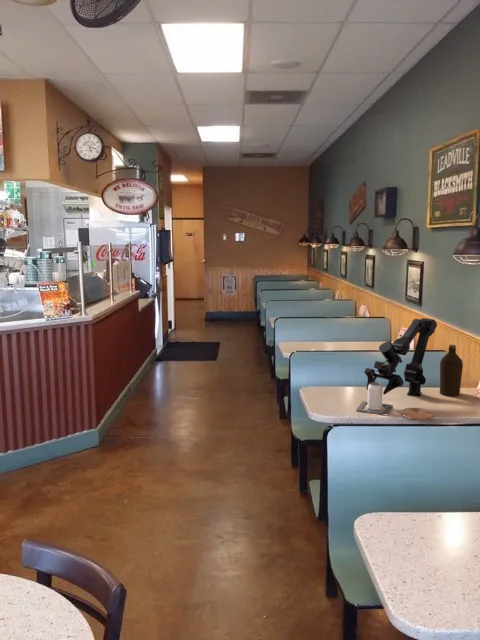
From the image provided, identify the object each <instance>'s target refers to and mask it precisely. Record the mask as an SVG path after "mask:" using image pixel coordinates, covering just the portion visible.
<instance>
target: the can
mask: <svg viewBox="0 0 480 640" xmlns="http://www.w3.org/2000/svg"><path fill="white" fill-rule="evenodd" d="M367 402H368V404H366V406H367V410H369V409H370V410H371V411H373V410H379V411H381V410H382V408H383V406H382V404H383V385H382V383H381V382H379V381H378V382H377V381H375V382H370V383H369V386H368V390H367Z"/></svg>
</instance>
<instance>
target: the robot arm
mask: <svg viewBox="0 0 480 640" xmlns="http://www.w3.org/2000/svg"><path fill="white" fill-rule="evenodd" d="M437 326H438V323H437V321H436V319H433V318H426V317H422V318H420V319H419V318H414V319H413V320H412V321H411V324H410V325H409V326H408V328H407V329H406V330H405V332H404V333H403V335H402V336H400V337H399V338H396V339H395V340H394V341H393V342H392V341H391V340H386V342H383V343H381V344H380V345H379V347H378V350H379V351H380V353H381V354H382V355H381V356H383V358H384V359H386V360H385V361H382V362H381V361H378V360H375V362H374V365H373V368H371V367H366V368H365V369H364V374H365V375H366V377H367V384H366V390H367V391H368V386H369V383H370V382H376V379H377V378H380V379H383V380H388V383H387V385H386V387H385V388H384V391H382V395H386V394H388V393H389V392H391V391H393V390H394V389H397V388H399V387H403V385H404V383H406V382H408V392H407V393H406V395H407V396H412V397H421V396H422V394H423V392H422V391H421V390H422V385H423V386H424V385H425V384H426V381H427V378H426V377H425V375H424V368H423V366H422V364H423V360H424V357H425V353H426V351H427V347H428V344H429V339H430V337H431V336H433V334H434V333H435V331H436V328H437ZM417 335H418V338H417V341H416V345H415V348H414V352H413V355H412V359H411V361H410V362H409V363H407V364H406V365H405V369H404V371H403V377H404V379H403V378H402V376H401V375H399V374H396V373H397V370H396V369H397V367H398V365H399V363H400V364H402V363H403V359H402V356H406V355H407V354H408V352H409V351H410V348H411V346H410V344H411V343H412V341H413V340H414V339H415V337H416V336H417ZM401 355H402V356H401ZM375 369H376V371H377V372H376V371H375ZM404 381H405V382H404Z"/></svg>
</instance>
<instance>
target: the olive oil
mask: <svg viewBox="0 0 480 640" xmlns="http://www.w3.org/2000/svg"><path fill="white" fill-rule="evenodd" d="M463 366H464V363H463V360H462V358H461V357H460V356H459V355H458V354H457V345H456V344H449V345H448V351H447V353H446V354H445V355H444V356H443V357H442V358H441V360H440V361H439V394H440V395H442V396H446V397H459V396H460V394H461V385H462V376H463V375H462V374H463V369H464V367H463Z"/></svg>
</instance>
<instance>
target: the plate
mask: <svg viewBox="0 0 480 640" xmlns="http://www.w3.org/2000/svg"><path fill="white" fill-rule="evenodd" d="M402 414H403V415H405V416H407V417H410V418H412V419H411V420H416V421H417V420H418V421H425V420H430V418H431V417H432V418H433V415H434V414H433V412H432V411H431V410H428V409H425V408H422V407H406V408H403V409H402V410H401V415H402ZM403 415H402V416H403ZM405 416H404V417H405ZM407 417H406V418H407ZM410 418H409V419H410ZM432 418H431V419H432Z"/></svg>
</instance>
